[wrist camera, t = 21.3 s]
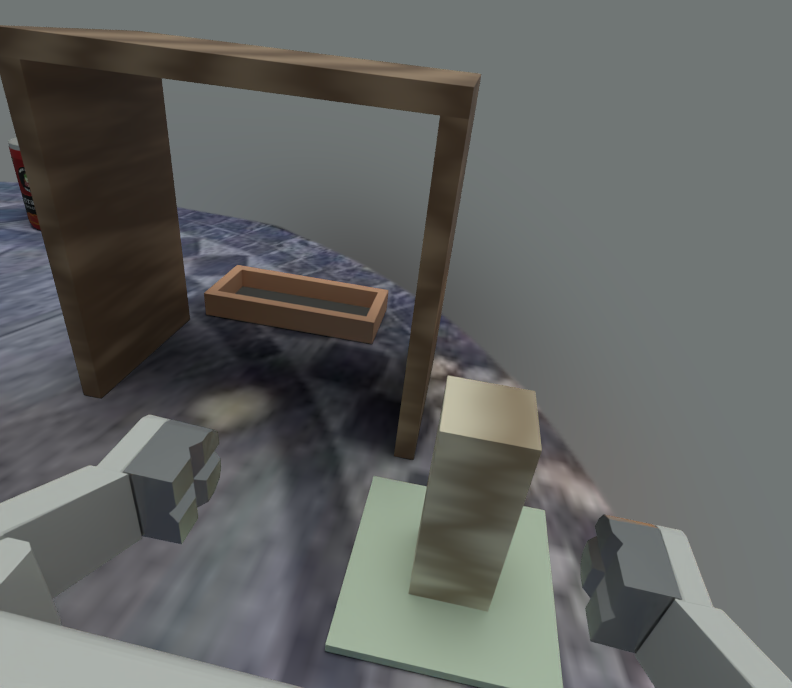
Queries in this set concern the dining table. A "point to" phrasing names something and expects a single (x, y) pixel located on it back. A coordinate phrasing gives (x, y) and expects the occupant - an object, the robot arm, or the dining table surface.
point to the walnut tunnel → (154, 186)
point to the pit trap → (298, 303)
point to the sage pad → (446, 604)
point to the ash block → (475, 490)
